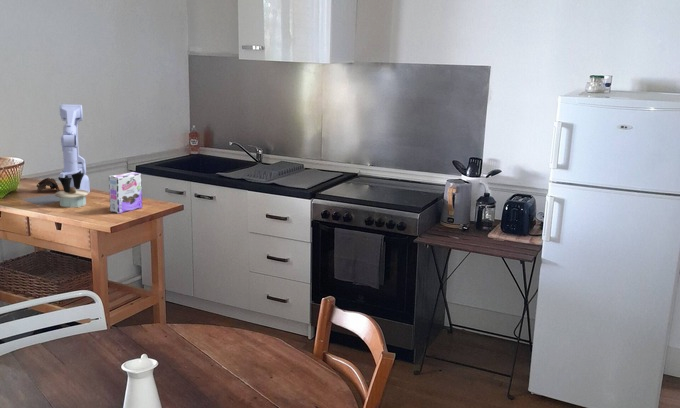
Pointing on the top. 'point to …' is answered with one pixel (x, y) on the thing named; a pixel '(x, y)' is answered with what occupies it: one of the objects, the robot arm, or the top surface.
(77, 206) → the bowl
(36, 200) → the mat
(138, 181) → the candy box
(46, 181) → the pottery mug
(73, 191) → the lid
